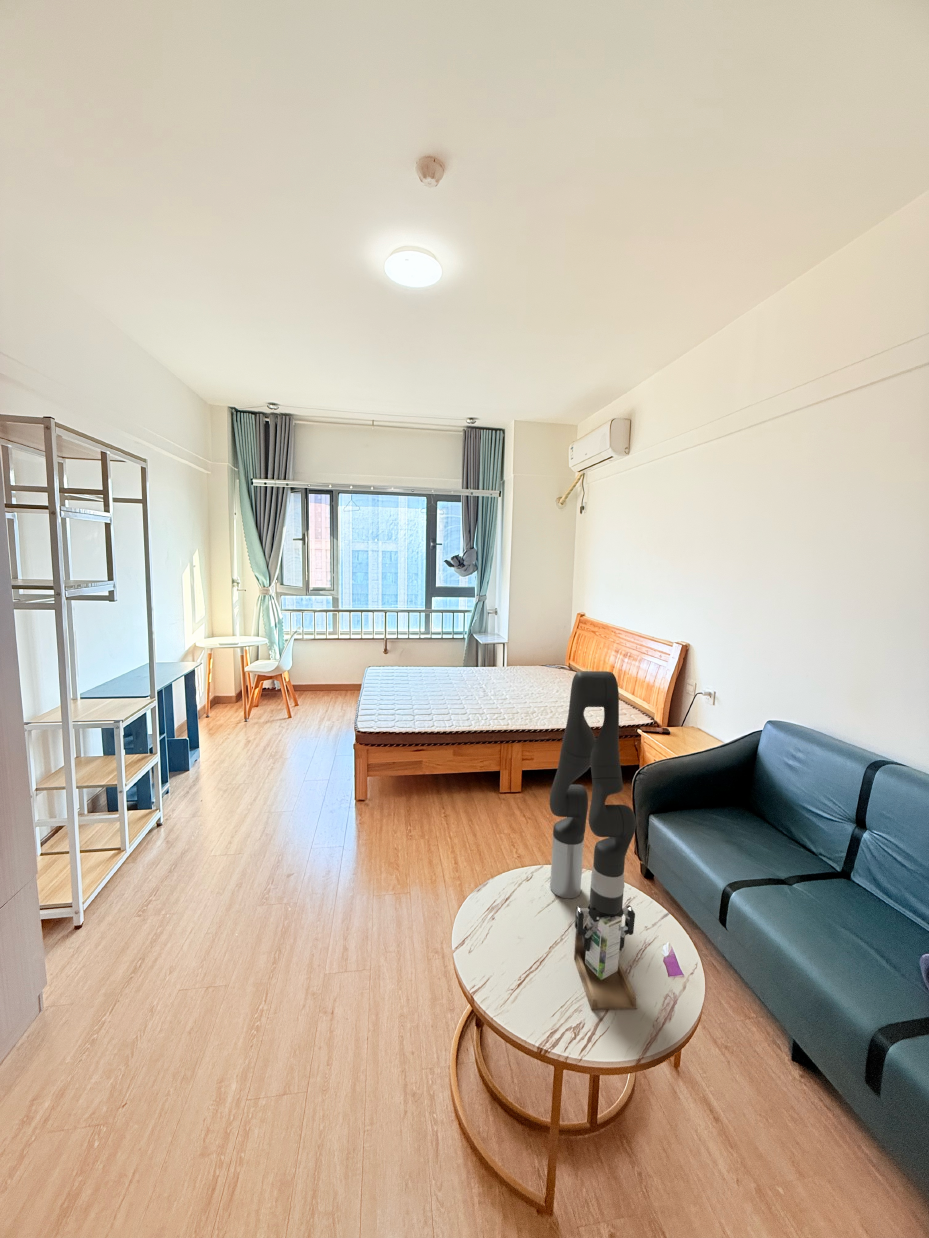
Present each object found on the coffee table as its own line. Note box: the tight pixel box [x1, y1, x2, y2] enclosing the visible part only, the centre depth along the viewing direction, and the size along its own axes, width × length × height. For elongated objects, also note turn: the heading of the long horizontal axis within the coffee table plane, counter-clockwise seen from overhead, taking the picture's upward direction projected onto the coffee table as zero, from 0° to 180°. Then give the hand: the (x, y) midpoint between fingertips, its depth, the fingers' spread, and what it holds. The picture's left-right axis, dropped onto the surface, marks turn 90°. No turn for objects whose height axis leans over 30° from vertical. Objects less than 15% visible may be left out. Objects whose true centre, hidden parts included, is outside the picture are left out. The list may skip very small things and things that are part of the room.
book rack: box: [573, 921, 637, 1011], centre depth 116 cm, size 14×10×10 cm
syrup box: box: [585, 915, 623, 980], centre depth 118 cm, size 6×6×14 cm
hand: (602, 948), depth 118 cm, fingers closed on syrup box, 7 cm apart
